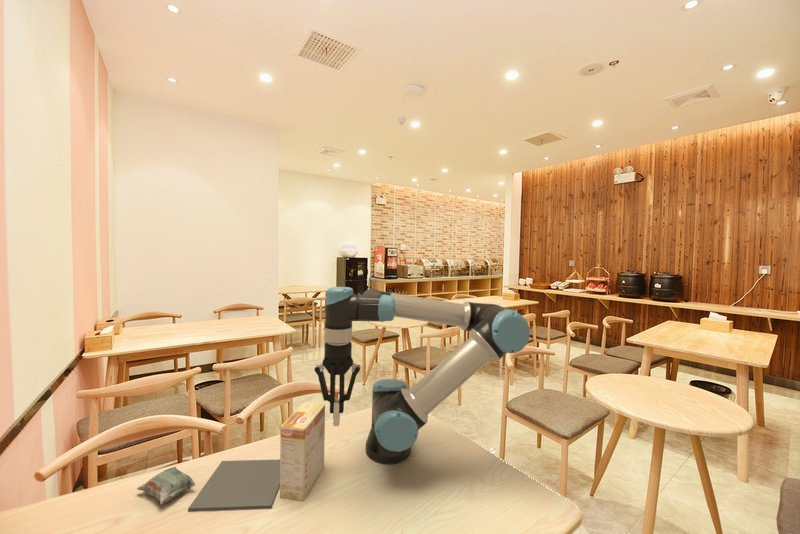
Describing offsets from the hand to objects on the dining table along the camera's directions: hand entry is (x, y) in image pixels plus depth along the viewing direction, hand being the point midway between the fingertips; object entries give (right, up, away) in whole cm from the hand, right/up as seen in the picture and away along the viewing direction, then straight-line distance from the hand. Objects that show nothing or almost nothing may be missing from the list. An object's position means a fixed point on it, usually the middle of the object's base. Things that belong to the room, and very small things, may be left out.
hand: (336, 423), depth 95 cm
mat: (-25, -16, -2) cm, 30 cm away
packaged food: (-44, -16, -7) cm, 47 cm away
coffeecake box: (-9, -17, 0) cm, 19 cm away
